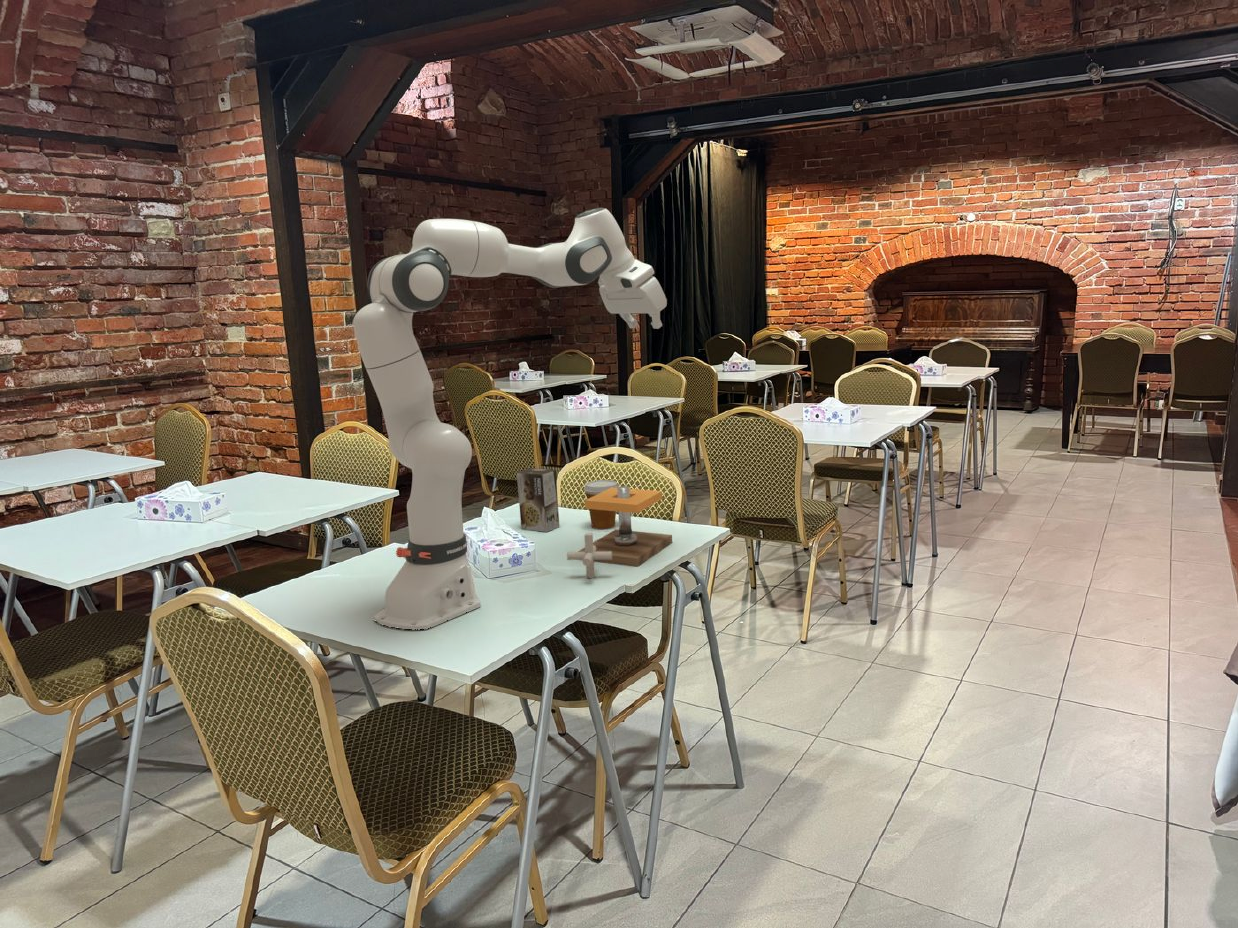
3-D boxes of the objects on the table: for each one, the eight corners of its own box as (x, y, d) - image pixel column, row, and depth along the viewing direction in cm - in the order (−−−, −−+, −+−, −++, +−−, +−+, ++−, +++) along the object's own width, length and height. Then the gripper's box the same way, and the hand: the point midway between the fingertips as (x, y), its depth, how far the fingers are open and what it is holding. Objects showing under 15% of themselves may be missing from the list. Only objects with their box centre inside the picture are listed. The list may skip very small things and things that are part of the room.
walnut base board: (637, 566, 197) (637, 558, 197) (578, 559, 204) (577, 551, 204) (672, 542, 215) (672, 534, 214) (616, 536, 222) (615, 529, 221)
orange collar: (637, 513, 198) (637, 504, 197) (585, 508, 204) (584, 500, 204) (662, 498, 210) (661, 491, 210) (612, 495, 216) (611, 487, 216)
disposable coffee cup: (587, 521, 237) (585, 480, 235) (621, 520, 237) (619, 478, 234) (584, 531, 228) (582, 488, 226) (620, 530, 228) (618, 486, 225)
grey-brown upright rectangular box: (560, 526, 234) (557, 469, 231) (546, 532, 229) (542, 474, 225) (534, 523, 239) (530, 467, 235) (519, 529, 233) (515, 471, 230)
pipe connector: (614, 569, 196) (613, 527, 194) (610, 584, 186) (608, 540, 184) (572, 569, 197) (569, 528, 195) (565, 584, 187) (562, 541, 185)
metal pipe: (631, 547, 205) (628, 491, 203) (610, 545, 208) (607, 489, 205) (641, 540, 210) (638, 485, 208) (620, 538, 213) (618, 484, 210)
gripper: (586, 283, 201) (612, 333, 207) (636, 280, 184) (663, 335, 190) (605, 270, 203) (630, 320, 209) (656, 266, 187) (682, 320, 193)
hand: (646, 327), depth 200 cm, fingers open, 8 cm apart
